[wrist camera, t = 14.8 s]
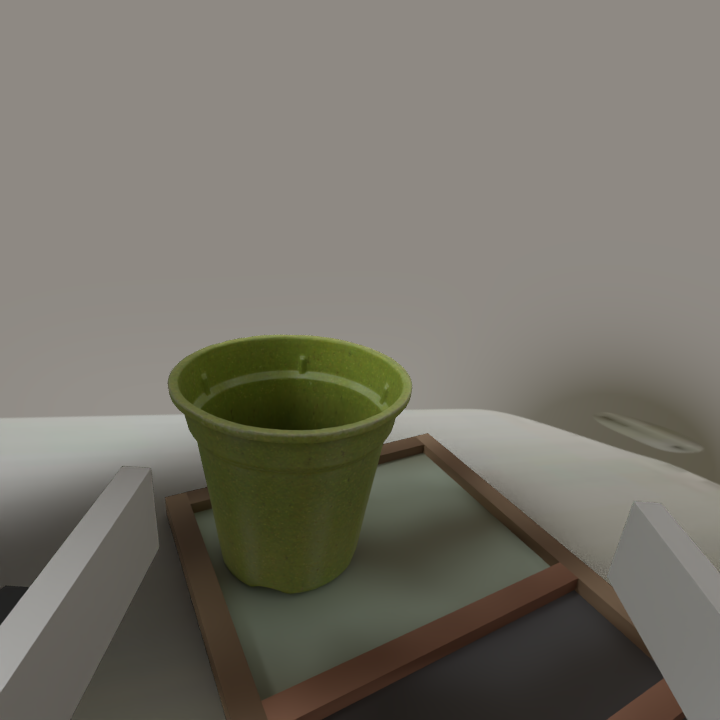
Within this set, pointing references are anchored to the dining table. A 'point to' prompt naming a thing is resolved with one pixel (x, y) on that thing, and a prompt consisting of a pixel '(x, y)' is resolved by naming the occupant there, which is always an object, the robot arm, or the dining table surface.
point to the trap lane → (423, 614)
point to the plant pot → (289, 448)
